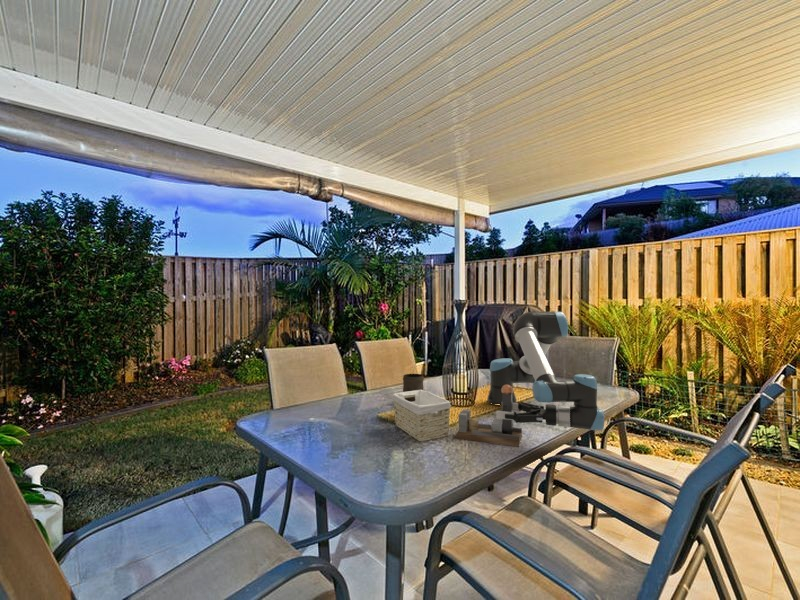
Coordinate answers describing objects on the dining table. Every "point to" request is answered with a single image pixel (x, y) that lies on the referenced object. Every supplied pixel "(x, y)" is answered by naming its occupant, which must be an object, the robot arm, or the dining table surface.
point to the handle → (507, 406)
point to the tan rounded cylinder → (472, 424)
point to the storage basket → (422, 414)
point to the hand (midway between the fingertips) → (499, 409)
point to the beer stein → (412, 384)
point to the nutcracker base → (486, 432)
